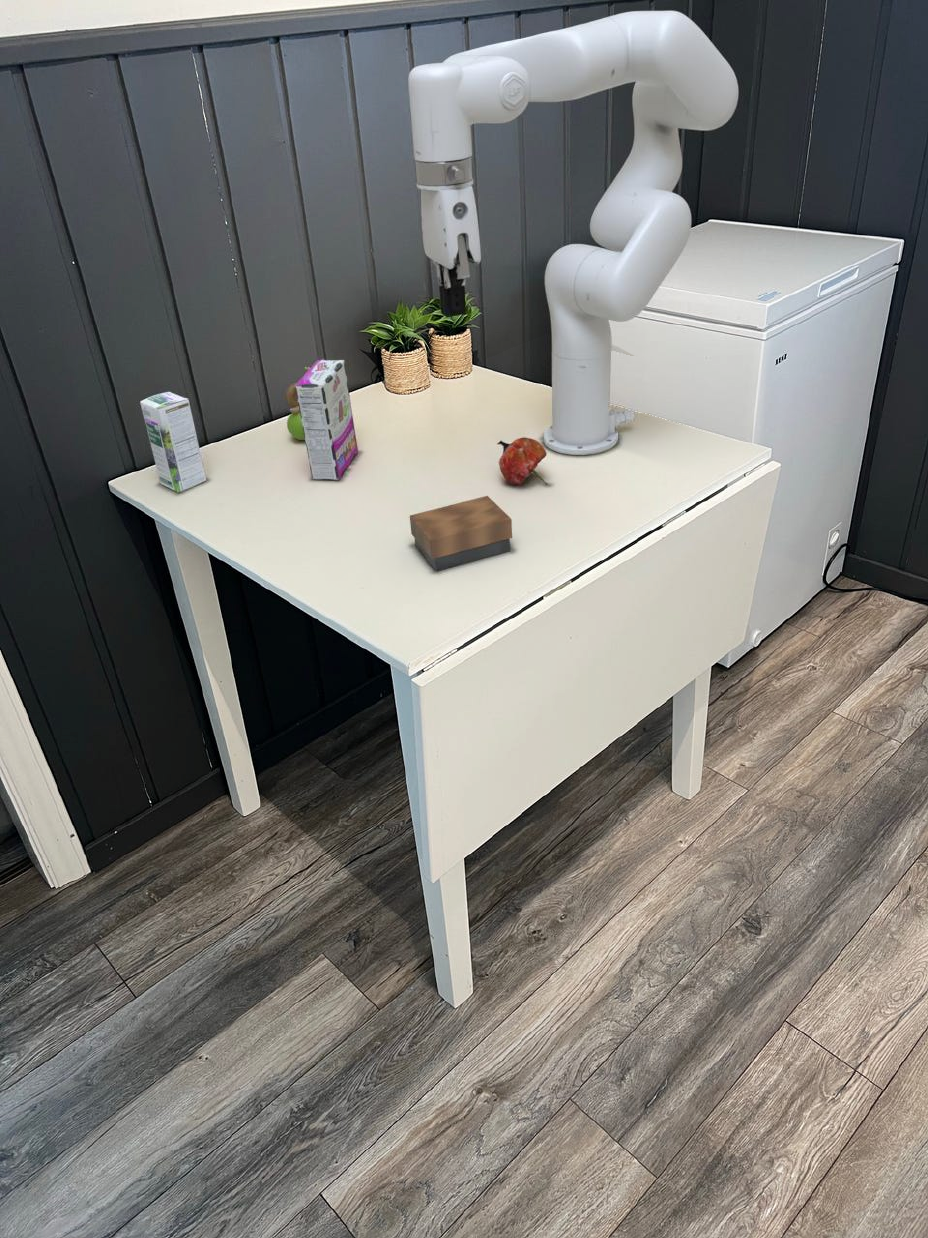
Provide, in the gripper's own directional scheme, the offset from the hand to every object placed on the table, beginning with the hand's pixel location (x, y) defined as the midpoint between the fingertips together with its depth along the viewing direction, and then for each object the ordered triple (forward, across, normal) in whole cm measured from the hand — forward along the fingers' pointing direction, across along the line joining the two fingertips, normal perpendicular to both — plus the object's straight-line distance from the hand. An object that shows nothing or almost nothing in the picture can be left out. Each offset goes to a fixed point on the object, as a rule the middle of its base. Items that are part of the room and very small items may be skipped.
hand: (453, 313), depth 134 cm
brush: (+25, -14, +8) cm, 29 cm away
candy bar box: (+27, +18, +16) cm, 36 cm away
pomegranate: (+27, -3, -9) cm, 29 cm away
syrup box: (+27, +25, +40) cm, 55 cm away
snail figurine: (+27, +32, +17) cm, 45 cm away
